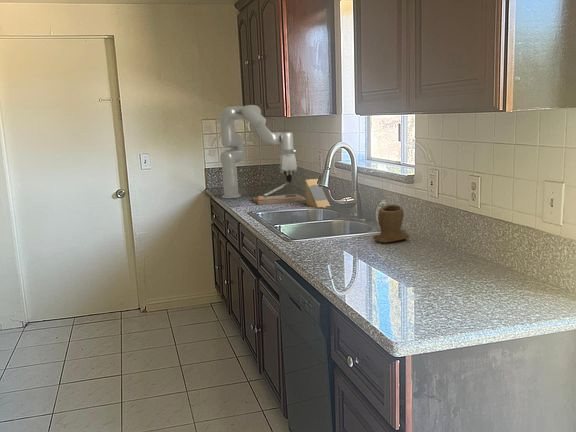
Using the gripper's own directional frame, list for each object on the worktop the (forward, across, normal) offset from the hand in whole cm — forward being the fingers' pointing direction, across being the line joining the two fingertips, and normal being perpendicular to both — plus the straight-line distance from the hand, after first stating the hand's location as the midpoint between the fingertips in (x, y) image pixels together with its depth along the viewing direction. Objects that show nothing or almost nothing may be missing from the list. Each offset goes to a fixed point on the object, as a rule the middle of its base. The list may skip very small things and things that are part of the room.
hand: (289, 181), depth 360 cm
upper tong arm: (+5, +7, 0) cm, 9 cm away
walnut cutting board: (+11, +8, 0) cm, 14 cm away
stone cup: (+12, -5, +134) cm, 134 cm away
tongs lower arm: (+10, +8, 0) cm, 13 cm away
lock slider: (+9, +20, +3) cm, 22 cm away
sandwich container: (+12, -8, +32) cm, 35 cm away
